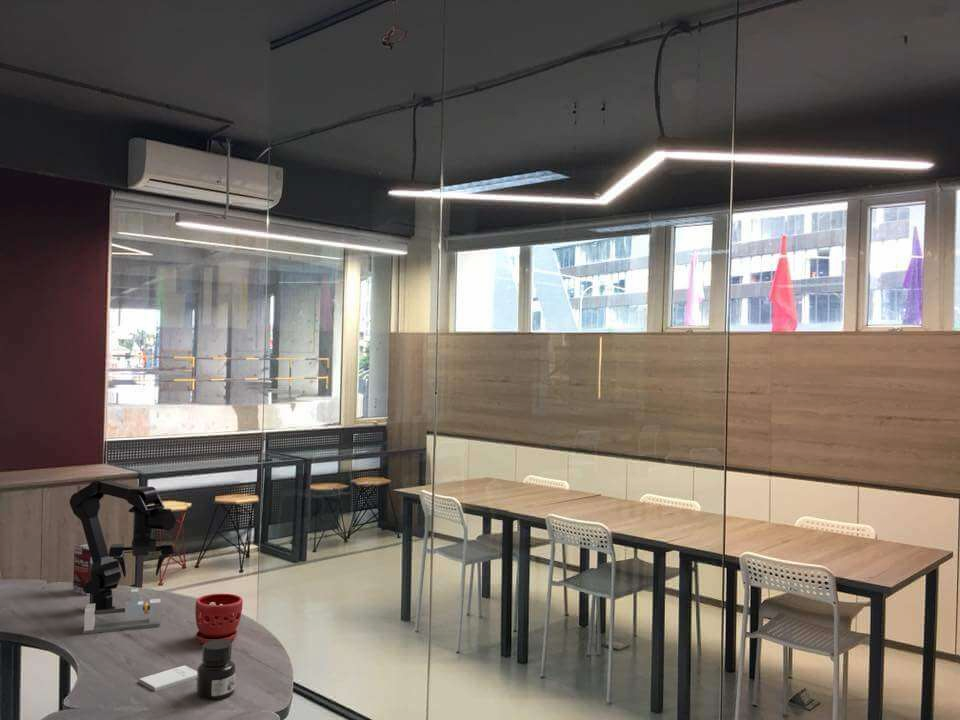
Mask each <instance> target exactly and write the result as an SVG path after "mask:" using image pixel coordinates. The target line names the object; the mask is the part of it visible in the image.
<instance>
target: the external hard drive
mask: <svg viewBox="0 0 960 720" xmlns="http://www.w3.org/2000/svg"><path fill="white" fill-rule="evenodd" d="M195 679H197V670H195V669H193V668H191V667H189V666H187V665H182V666H178V667H175V668H171V669H168V670H164V671H161V672H157V673H154V674H151V675H150V674H149V675H147V676H144V677H141V678H138V683H139V684H141V685H142V686H144V687H146V688H148V689H150V690H151V691H154V692H159V691H161V690H164V689H167V688H170V687H173V686H177V685H179V684H182V683H185V682H189V681H192V680H195Z"/></svg>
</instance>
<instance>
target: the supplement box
mask: <svg viewBox="0 0 960 720" xmlns="http://www.w3.org/2000/svg"><path fill="white" fill-rule="evenodd" d="M73 552H74V553H73V579H72V580H73V581H72V584H73V585H72V586H73V587H72V592H73V591H74V593H78V592H80V593H79V594H81V593H84V594H83V595H85V594H88V593H85V589H84V586H85V585H86V584H87V583H88V582H89V581H90V580H91V574H90V571H91V568H92V564H93V561H92V557H91V554H90V550H89V547H88V543H84V544H79V545H75V546H74V548H73ZM87 596H90V595H89V594H88V595H87Z"/></svg>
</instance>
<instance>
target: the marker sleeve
mask: <svg viewBox="0 0 960 720" xmlns="http://www.w3.org/2000/svg"><path fill="white" fill-rule="evenodd" d="M143 606H144V600H139V588H132V589H131V590H130V601H128V602H127V601H125V605H124V608H125V612H124V618H136V617H137V618H140V617H144V610H143Z"/></svg>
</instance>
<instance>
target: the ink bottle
mask: <svg viewBox="0 0 960 720" xmlns="http://www.w3.org/2000/svg"><path fill="white" fill-rule="evenodd" d="M232 647H233V643H232V642H231V641H227V640H213V641H209V642H206V643H202V653H201V654H202V655H201V656H202V660H201V661H202V662H201V664H200V665H199V666H198V667H197V670H196V671H197V678H196V696H197V698H199V699H201V700H202V699H203V700H208V701H218V700H222V699H225V698H227V697H230V696H231V695H233V694H234V693H235V690H236V689H235V688H236V664H235V662H234V661H233V660H231V659H232V652H233V651H232Z"/></svg>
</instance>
